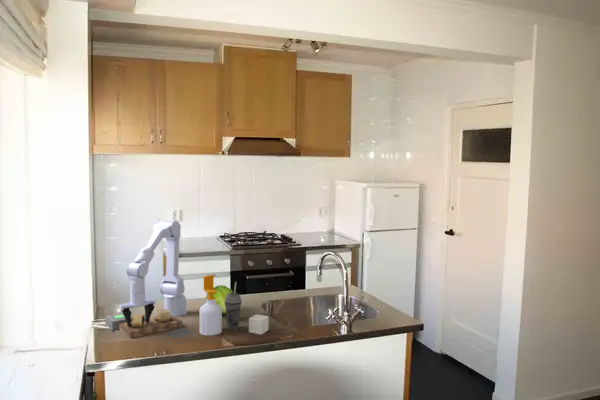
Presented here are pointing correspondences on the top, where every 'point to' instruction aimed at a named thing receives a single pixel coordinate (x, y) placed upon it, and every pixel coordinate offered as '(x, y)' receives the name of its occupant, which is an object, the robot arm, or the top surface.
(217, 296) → the lettuce
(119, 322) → the button housing
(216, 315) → the soap bottle
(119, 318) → the button
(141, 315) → the block
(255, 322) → the white cube
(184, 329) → the mat
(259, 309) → the top surface
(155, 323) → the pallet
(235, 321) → the beverage cup
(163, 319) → the block
